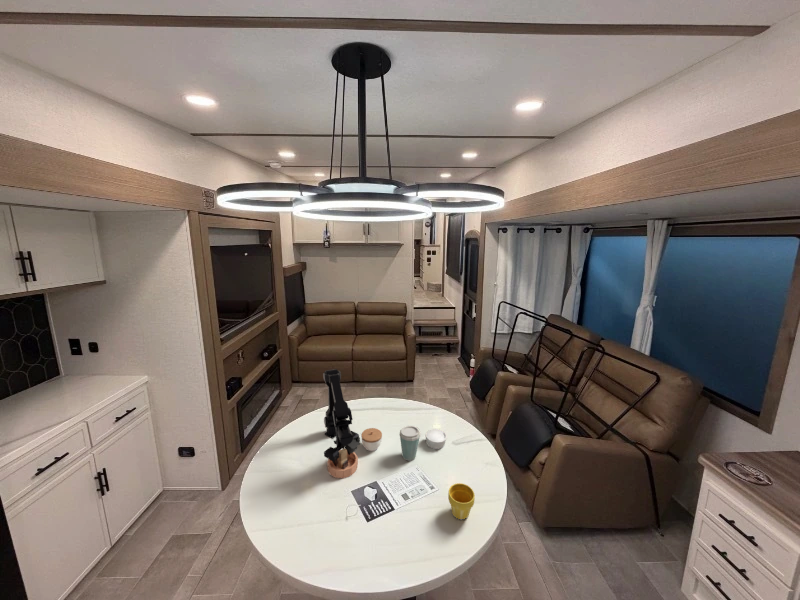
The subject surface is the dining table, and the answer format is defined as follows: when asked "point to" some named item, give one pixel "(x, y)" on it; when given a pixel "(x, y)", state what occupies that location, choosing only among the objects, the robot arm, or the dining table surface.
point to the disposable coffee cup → (409, 442)
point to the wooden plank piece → (342, 458)
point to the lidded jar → (371, 438)
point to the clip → (345, 464)
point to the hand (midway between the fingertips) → (342, 460)
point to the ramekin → (435, 438)
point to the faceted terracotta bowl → (348, 470)
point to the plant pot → (461, 500)
